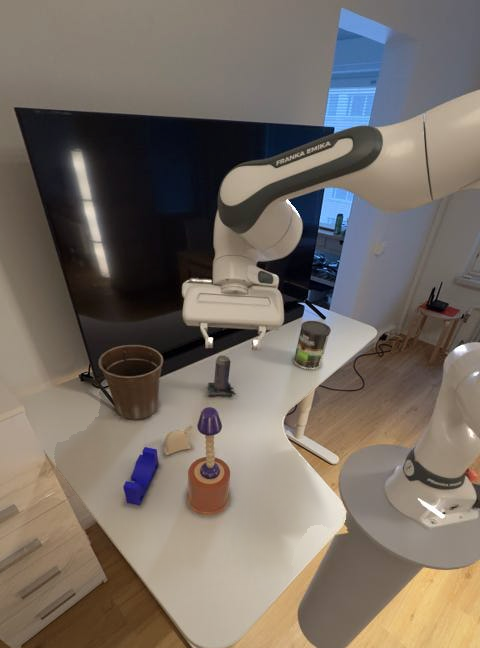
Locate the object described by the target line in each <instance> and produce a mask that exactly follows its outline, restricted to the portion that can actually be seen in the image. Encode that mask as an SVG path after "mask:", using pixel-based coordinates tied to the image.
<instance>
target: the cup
mask: <svg viewBox="0 0 480 648" xmlns="http://www.w3.org/2000/svg"><path fill="white" fill-rule="evenodd" d="M204 463H206V456H203V457H200V458H198V459H196V460H194V461H193V462H192V463H191V464H190V466H189V467H188V470H187V475H188V477H187V479H188V481H187V484H188V491H187V495H186V497H187V504H188V505H189V507H190V508H191V510H193V511H194V512H196V513H197V514H200V515H204V516H213V515H216V514H219V513H221V512H222V511H223V510H225V508H226V507H227V506H228V504H229V501H230V492H229V491H230V490H229V489H230V480H231V469H230V467H229V465H228V464H227V462H225V461H224V460H223V459H221V458H218V457H215V456H214V463H216V464H217V465H218V466H219V468H220V474H219V475H218V476H217V477H216V478H214V479H206V478H204V477H203V476H202V475H201V474H200V469H201V467H202V465H203V464H204Z"/></svg>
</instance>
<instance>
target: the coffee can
mask: <svg viewBox="0 0 480 648" xmlns="http://www.w3.org/2000/svg"><path fill="white" fill-rule="evenodd" d="M299 331H300V332H299V335H298V339H297V344H296V350H295V353H294V356H293V362H294V364H295V365H296V366H297V367H299V368H302V369H305V370H309V371H310V370H311V371H313V370H317V369H319V368H320V367H321V366H322V361H323V357H324V355H325V351H326V347H327V344H328V340H329V337H330V334H331V331H332V329H331V327H330V326H329V325H327V324H326V323H324V322H322V321H317V320H307V321H303V322H302V323H301V325H300V330H299Z"/></svg>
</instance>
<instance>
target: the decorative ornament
mask: <svg viewBox="0 0 480 648" xmlns="http://www.w3.org/2000/svg"><path fill="white" fill-rule="evenodd" d="M193 429H194V426H193V425H190V426H188V427H186V429H184V430H180V429H177V430H176V429H175V430H172V431H170V432H169V433H167V434H166V436H165V438H164V446H163V452H164V454H165V455H166V456H168V455H169V456H170V455H171V454H174V453H176V452H179V451H184V450H191V449H192V447H191V444H190V442H189V439H188V435H189V434H190V433H191V432H192V431H193Z"/></svg>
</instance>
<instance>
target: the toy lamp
mask: <svg viewBox="0 0 480 648" xmlns="http://www.w3.org/2000/svg"><path fill="white" fill-rule="evenodd" d="M197 421H198V422H197V425H196V427H197V431H198V432H199V433H200V434H201V435H203V436H204V438H205V457H206V463H204V464H203V465H202V467H201V469H200V474H201V475H202V476H203V477H204V478H206V479H214V478H216V477H217V476H218V475H219V474H220V468H219V466H218V465H217V464H216V463H214V457H215V436H216V435H217V434H219V433H220V432H221V431H222V429H223V424H222V420H221V417H220V414H219V411H218V410H217V408H215V407H212V406H207V407H204V408H203V409H202V410H201V412H200V415H199V418H198V420H197Z"/></svg>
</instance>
